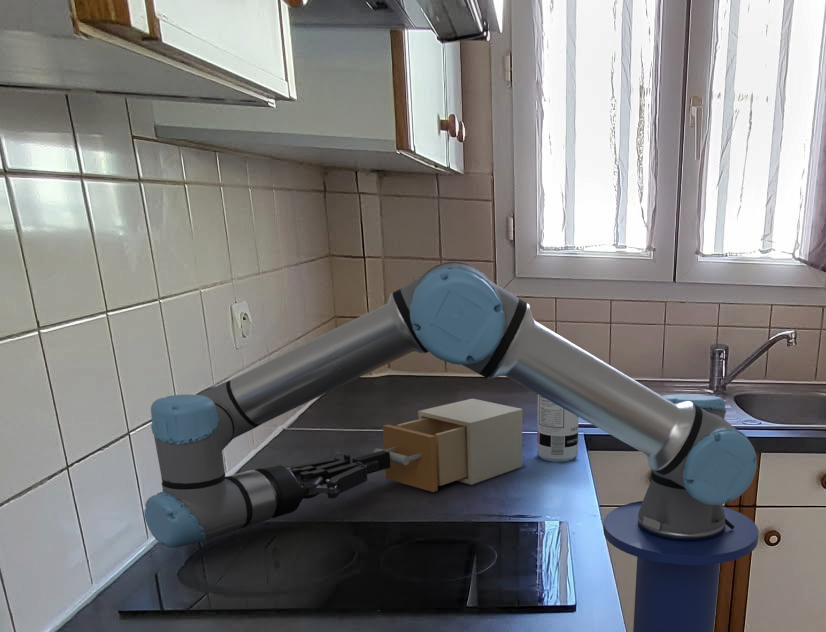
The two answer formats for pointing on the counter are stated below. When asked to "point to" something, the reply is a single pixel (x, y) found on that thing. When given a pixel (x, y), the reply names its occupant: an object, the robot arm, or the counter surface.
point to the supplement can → (556, 432)
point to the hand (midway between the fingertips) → (386, 458)
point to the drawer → (426, 453)
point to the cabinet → (485, 435)
